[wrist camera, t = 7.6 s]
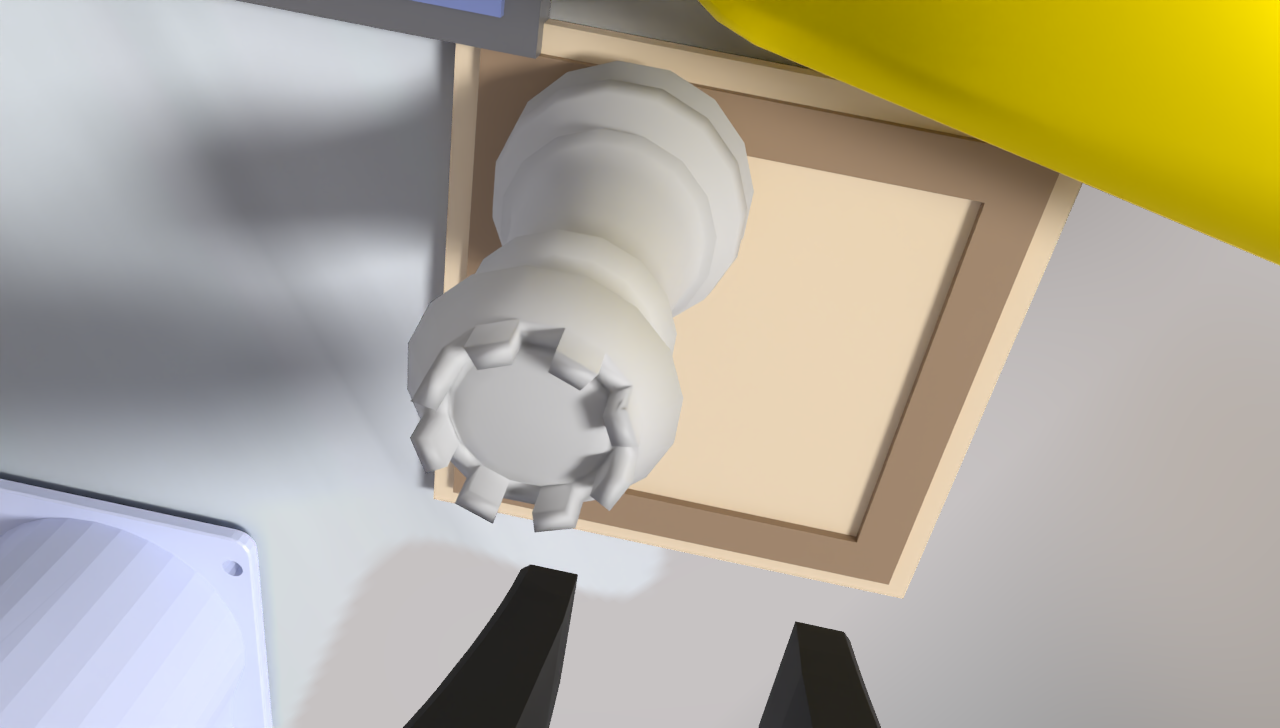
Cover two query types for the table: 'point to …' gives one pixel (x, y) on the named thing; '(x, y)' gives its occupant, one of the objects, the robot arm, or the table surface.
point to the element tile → (1073, 89)
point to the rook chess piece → (581, 294)
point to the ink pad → (441, 19)
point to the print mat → (803, 310)
